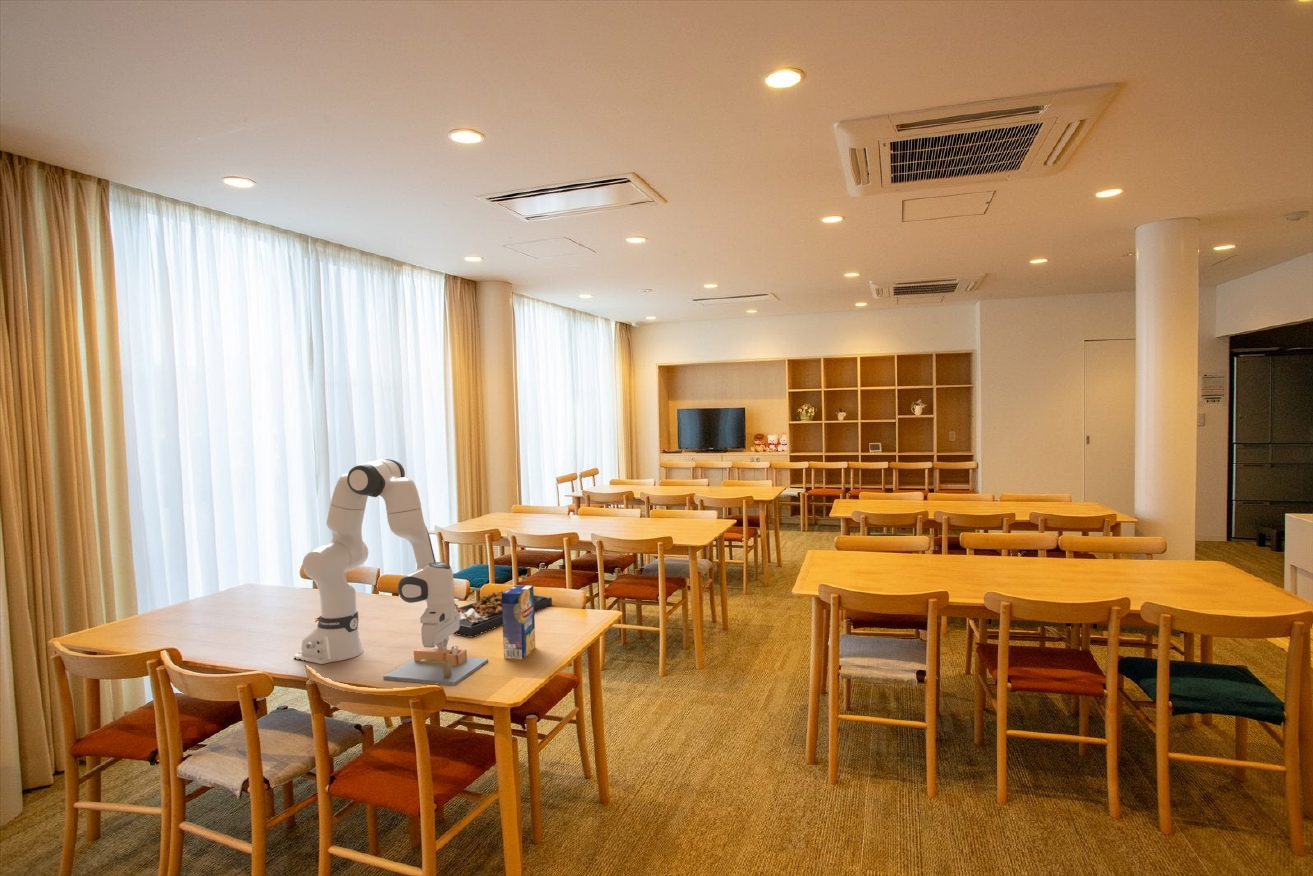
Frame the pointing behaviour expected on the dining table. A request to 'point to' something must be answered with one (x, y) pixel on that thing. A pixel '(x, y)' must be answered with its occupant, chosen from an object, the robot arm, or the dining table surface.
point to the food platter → (488, 613)
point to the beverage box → (518, 621)
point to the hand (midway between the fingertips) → (442, 651)
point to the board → (434, 672)
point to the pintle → (455, 650)
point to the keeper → (443, 663)
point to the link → (440, 655)
